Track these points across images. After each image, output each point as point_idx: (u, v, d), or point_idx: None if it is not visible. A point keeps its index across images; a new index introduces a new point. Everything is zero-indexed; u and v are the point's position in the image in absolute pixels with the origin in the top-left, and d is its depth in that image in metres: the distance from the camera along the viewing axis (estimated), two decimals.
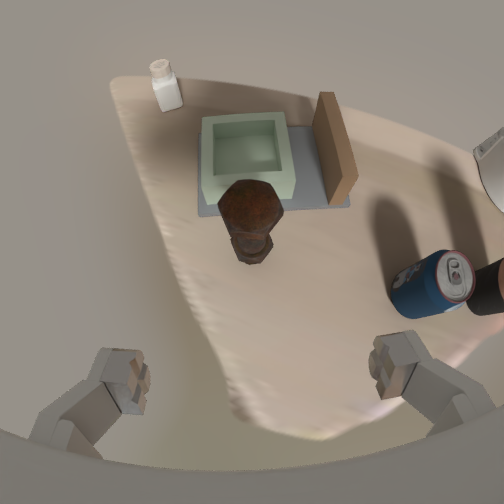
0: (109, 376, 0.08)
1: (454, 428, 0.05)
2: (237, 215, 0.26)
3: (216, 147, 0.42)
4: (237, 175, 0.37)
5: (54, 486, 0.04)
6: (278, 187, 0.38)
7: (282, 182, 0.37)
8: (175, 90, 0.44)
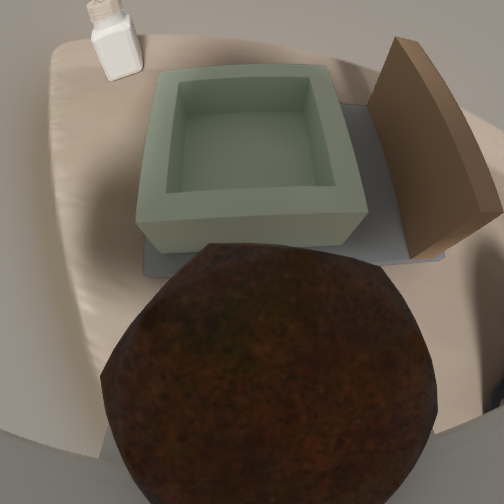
0: None
1: (454, 428, 0.05)
2: (206, 475, 0.04)
3: (187, 132, 0.20)
4: (225, 194, 0.15)
5: (54, 486, 0.04)
6: (323, 225, 0.16)
7: (336, 215, 0.15)
8: (127, 41, 0.22)
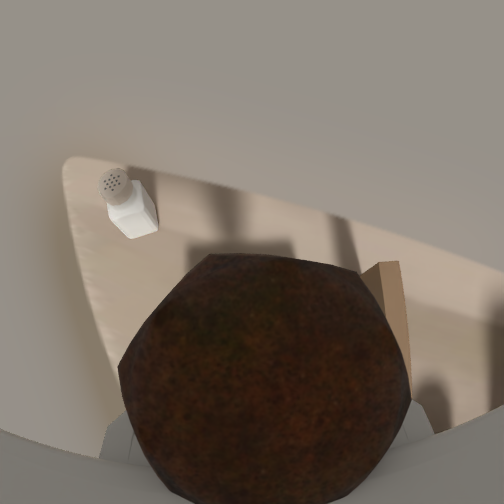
0: None
1: (454, 428, 0.05)
2: (207, 449, 0.04)
3: None
4: None
5: (54, 486, 0.04)
6: None
7: None
8: (143, 217, 0.30)
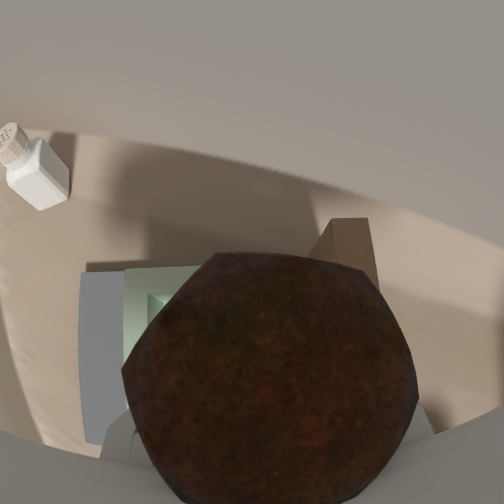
0: None
1: (454, 428, 0.05)
2: (217, 453, 0.04)
3: None
4: None
5: (54, 486, 0.04)
6: None
7: None
8: (42, 180, 0.21)
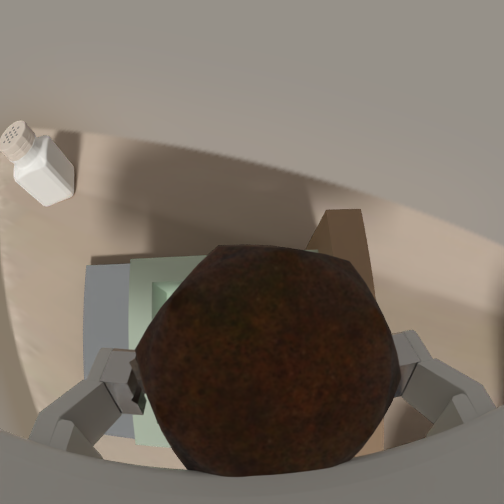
0: (109, 375, 0.08)
1: (454, 428, 0.05)
2: (219, 421, 0.05)
3: None
4: None
5: (54, 486, 0.04)
6: None
7: None
8: (48, 176, 0.22)
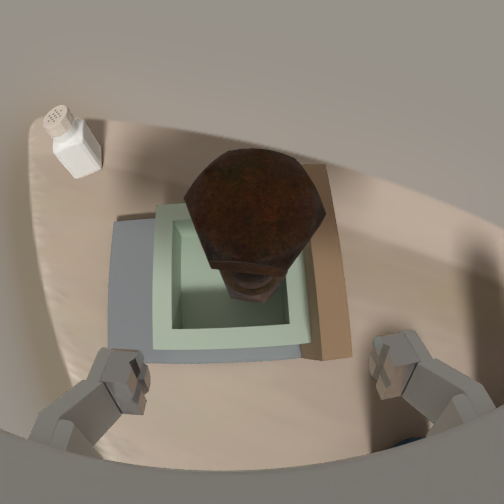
0: (109, 376, 0.08)
1: (454, 428, 0.05)
2: (227, 223, 0.12)
3: (182, 253, 0.27)
4: (212, 332, 0.21)
5: (54, 486, 0.04)
6: (281, 345, 0.23)
7: None
8: (83, 151, 0.28)
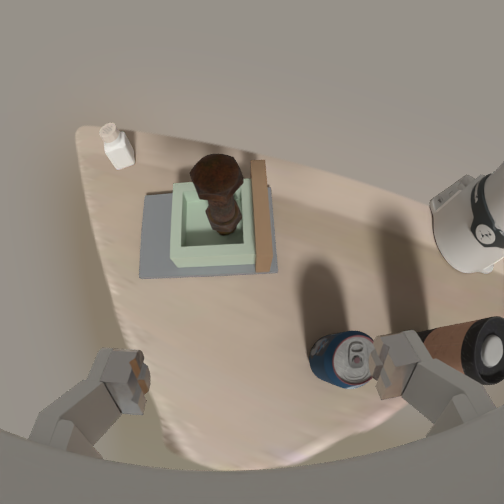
0: (109, 376, 0.08)
1: (454, 428, 0.05)
2: (205, 181, 0.31)
3: (187, 211, 0.46)
4: (202, 247, 0.41)
5: (54, 486, 0.04)
6: (240, 257, 0.42)
7: (243, 254, 0.41)
8: (125, 152, 0.48)
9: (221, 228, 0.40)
